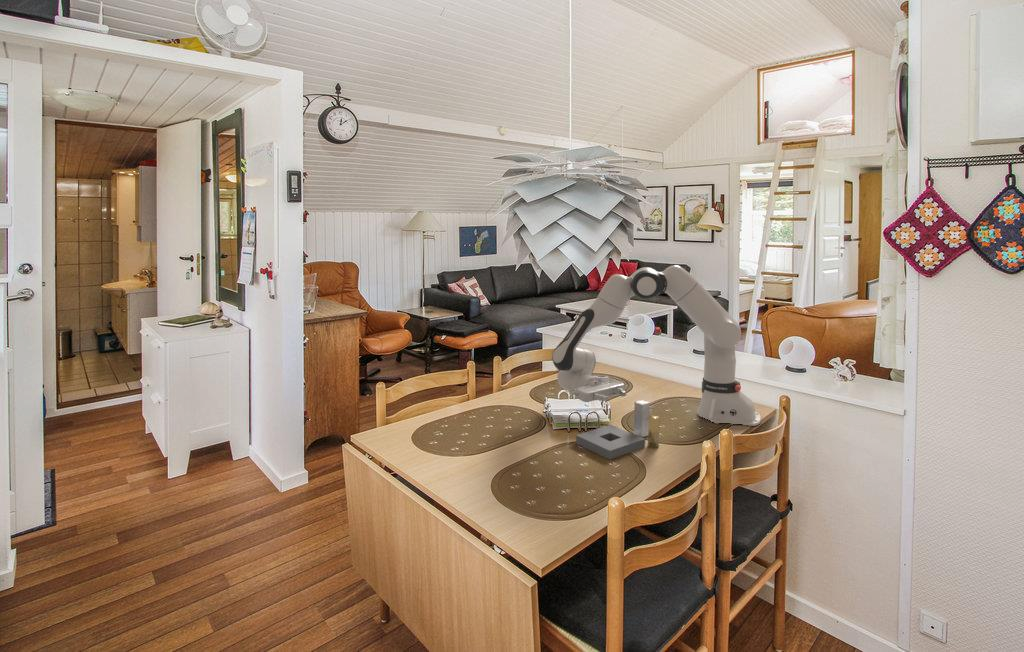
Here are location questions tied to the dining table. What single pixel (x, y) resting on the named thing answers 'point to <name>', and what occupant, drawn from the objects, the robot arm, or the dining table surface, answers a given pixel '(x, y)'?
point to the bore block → (610, 441)
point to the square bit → (641, 418)
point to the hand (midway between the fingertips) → (615, 396)
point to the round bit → (653, 431)
